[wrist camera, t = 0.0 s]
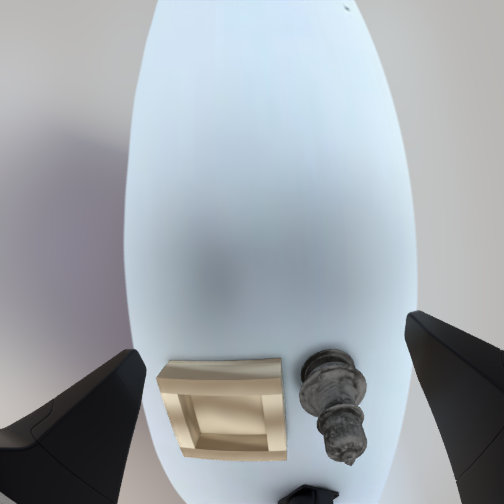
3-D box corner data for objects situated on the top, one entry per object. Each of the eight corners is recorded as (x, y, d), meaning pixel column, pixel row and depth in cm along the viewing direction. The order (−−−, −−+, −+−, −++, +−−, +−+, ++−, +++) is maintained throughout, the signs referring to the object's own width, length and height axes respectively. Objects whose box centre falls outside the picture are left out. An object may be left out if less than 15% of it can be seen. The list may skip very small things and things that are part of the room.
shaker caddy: (286, 438, 26) (286, 460, 22) (191, 437, 27) (183, 456, 24) (280, 358, 25) (280, 377, 21) (169, 360, 26) (155, 377, 22)
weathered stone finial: (320, 336, 24) (345, 424, 12) (369, 361, 24) (413, 444, 12) (285, 382, 25) (284, 478, 13) (333, 404, 25) (353, 494, 13)
